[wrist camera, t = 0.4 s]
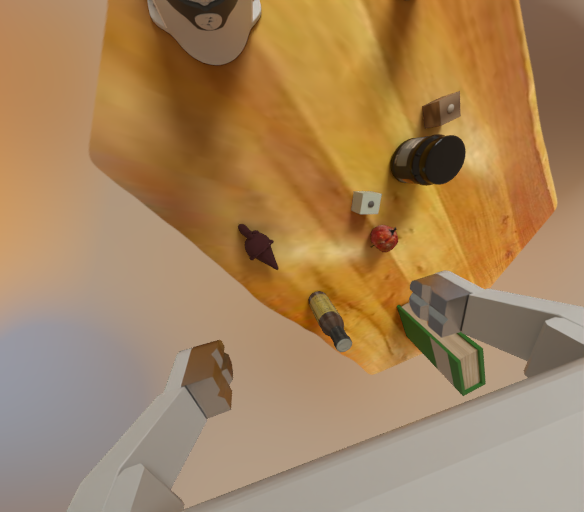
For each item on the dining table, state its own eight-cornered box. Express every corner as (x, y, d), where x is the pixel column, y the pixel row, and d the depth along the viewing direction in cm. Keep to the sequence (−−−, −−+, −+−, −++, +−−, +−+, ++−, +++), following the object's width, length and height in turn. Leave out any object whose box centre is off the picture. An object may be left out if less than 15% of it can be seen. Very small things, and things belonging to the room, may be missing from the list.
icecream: (292, 262, 53) (254, 214, 48) (270, 282, 52) (229, 235, 47) (284, 257, 60) (249, 214, 54) (264, 275, 58) (226, 233, 53)
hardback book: (396, 305, 76) (457, 362, 54) (414, 295, 76) (482, 348, 54) (406, 336, 84) (463, 396, 62) (423, 327, 84) (485, 384, 62)
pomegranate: (379, 243, 67) (407, 226, 59) (380, 262, 62) (409, 246, 55) (360, 233, 65) (386, 213, 57) (360, 251, 60) (388, 233, 53)
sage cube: (353, 191, 56) (363, 193, 51) (370, 191, 57) (382, 193, 52) (351, 210, 58) (360, 214, 53) (367, 210, 59) (378, 214, 54)
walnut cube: (422, 106, 51) (440, 100, 46) (440, 97, 51) (460, 90, 46) (424, 128, 53) (441, 125, 48) (442, 120, 53) (461, 116, 49)
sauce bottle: (324, 306, 69) (352, 356, 51) (306, 306, 68) (328, 358, 50) (328, 289, 67) (359, 336, 49) (309, 289, 65) (334, 336, 47)
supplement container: (415, 185, 59) (453, 190, 48) (383, 178, 56) (416, 182, 45) (431, 143, 55) (477, 139, 44) (397, 133, 52) (437, 126, 41)
